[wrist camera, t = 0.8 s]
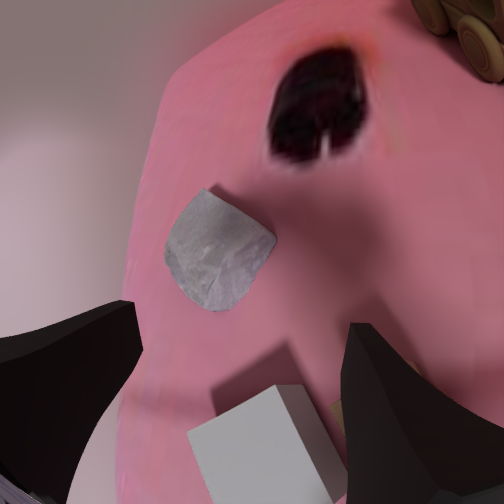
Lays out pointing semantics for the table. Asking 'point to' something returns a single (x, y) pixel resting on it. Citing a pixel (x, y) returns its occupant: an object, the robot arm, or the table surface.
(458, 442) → the robot arm
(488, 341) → the table surface
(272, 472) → the plinth
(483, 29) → the wooden toy train
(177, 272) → the stone block
